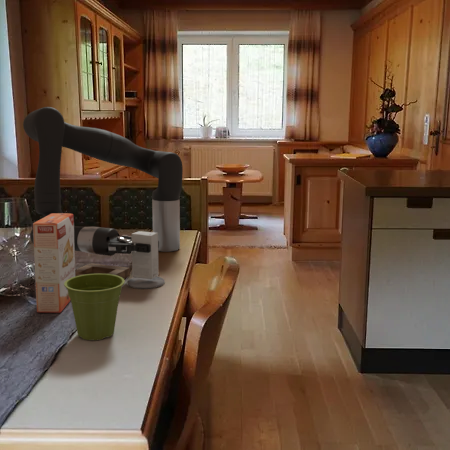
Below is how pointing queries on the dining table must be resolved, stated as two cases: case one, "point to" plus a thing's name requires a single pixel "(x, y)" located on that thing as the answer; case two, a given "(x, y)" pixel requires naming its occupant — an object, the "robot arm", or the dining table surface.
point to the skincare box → (145, 256)
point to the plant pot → (95, 303)
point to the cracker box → (53, 260)
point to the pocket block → (103, 270)
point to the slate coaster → (145, 282)
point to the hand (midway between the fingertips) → (154, 246)
